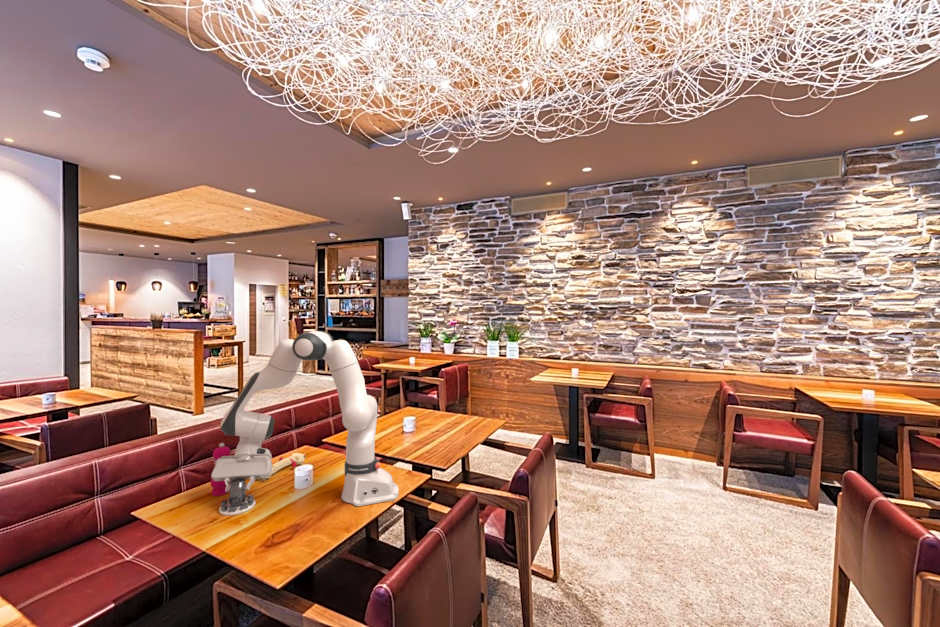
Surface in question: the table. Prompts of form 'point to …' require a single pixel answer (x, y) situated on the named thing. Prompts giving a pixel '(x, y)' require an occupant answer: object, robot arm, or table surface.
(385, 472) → the robot arm
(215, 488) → the pepper mill
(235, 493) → the sleeve nut
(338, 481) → the table surface
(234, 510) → the castellated coaster
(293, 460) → the cream dog bone
